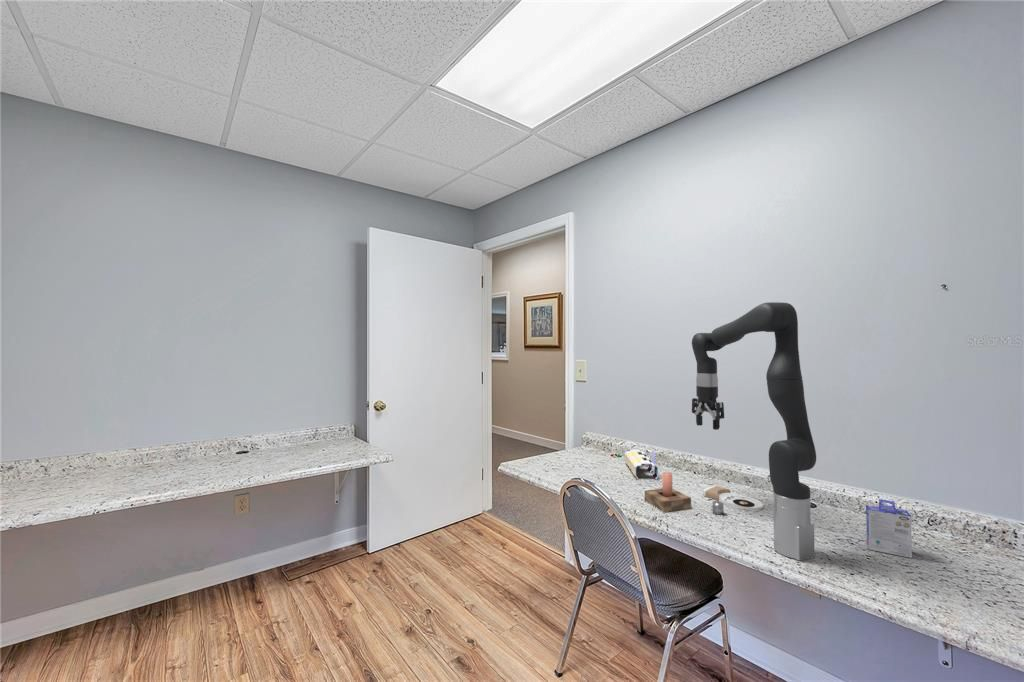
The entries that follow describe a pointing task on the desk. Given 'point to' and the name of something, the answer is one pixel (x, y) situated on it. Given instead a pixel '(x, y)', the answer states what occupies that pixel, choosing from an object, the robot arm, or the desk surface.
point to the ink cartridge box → (889, 529)
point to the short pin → (718, 508)
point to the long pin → (667, 484)
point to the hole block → (667, 500)
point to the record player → (732, 498)
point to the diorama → (640, 461)
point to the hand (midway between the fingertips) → (707, 427)
